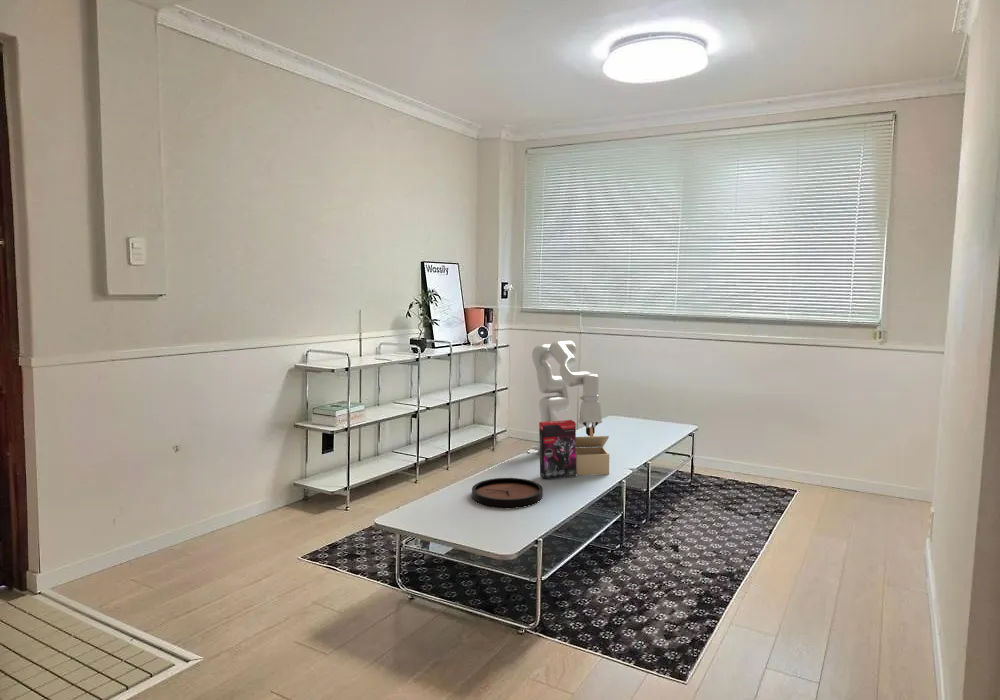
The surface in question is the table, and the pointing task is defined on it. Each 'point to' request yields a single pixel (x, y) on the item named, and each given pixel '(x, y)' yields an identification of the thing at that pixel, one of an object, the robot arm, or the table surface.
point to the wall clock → (507, 492)
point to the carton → (592, 461)
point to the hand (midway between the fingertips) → (590, 434)
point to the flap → (591, 440)
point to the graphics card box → (557, 449)
